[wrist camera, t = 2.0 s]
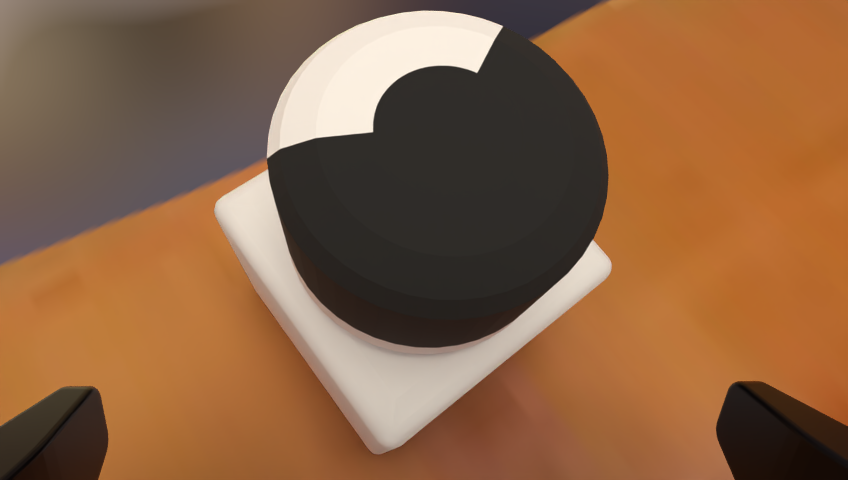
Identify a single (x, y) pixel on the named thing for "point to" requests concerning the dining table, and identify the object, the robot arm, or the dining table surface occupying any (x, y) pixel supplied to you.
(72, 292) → the dining table surface
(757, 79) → the dining table surface
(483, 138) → the medicine bottle
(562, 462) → the dining table surface
